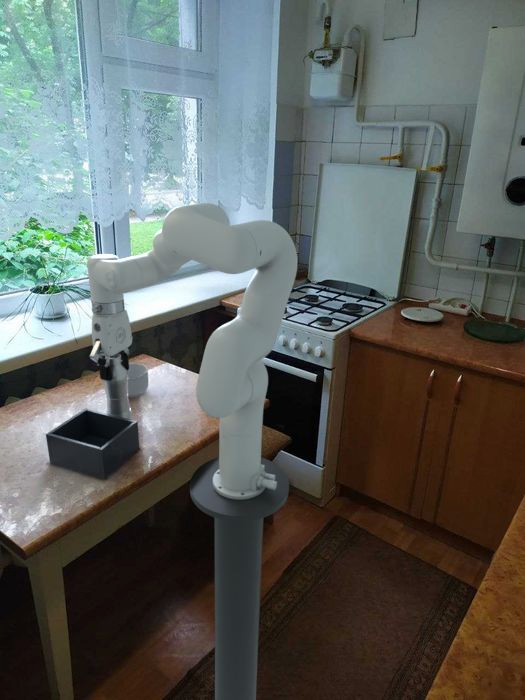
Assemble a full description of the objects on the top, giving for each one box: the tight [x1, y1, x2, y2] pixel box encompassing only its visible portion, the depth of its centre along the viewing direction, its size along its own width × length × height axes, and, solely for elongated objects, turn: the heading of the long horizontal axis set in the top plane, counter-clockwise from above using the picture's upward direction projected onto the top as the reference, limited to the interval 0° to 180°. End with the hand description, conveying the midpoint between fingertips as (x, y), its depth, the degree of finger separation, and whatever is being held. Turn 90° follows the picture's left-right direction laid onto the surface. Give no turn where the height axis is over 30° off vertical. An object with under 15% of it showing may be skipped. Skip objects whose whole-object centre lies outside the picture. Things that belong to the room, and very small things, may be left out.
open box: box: [45, 408, 140, 481], centre depth 118 cm, size 16×14×8 cm
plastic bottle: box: [102, 353, 134, 420], centre depth 128 cm, size 6×7×20 cm
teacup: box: [127, 362, 149, 399], centre depth 150 cm, size 14×11×8 cm
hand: (115, 373), depth 126 cm, fingers closed on plastic bottle, 6 cm apart
